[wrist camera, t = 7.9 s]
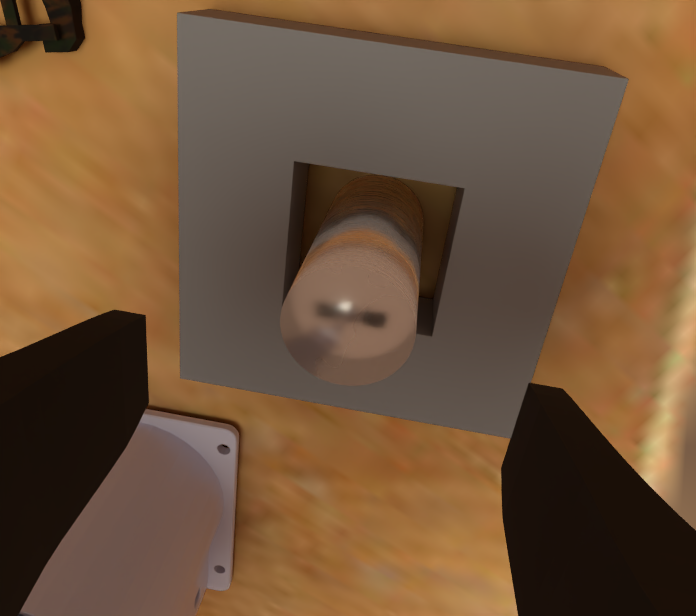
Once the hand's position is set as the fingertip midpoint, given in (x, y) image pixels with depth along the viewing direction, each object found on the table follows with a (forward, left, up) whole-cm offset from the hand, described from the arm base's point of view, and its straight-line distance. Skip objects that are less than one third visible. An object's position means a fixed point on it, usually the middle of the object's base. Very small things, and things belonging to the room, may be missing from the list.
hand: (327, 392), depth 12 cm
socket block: (0, 0, -9) cm, 9 cm away
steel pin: (0, 0, -9) cm, 9 cm away
